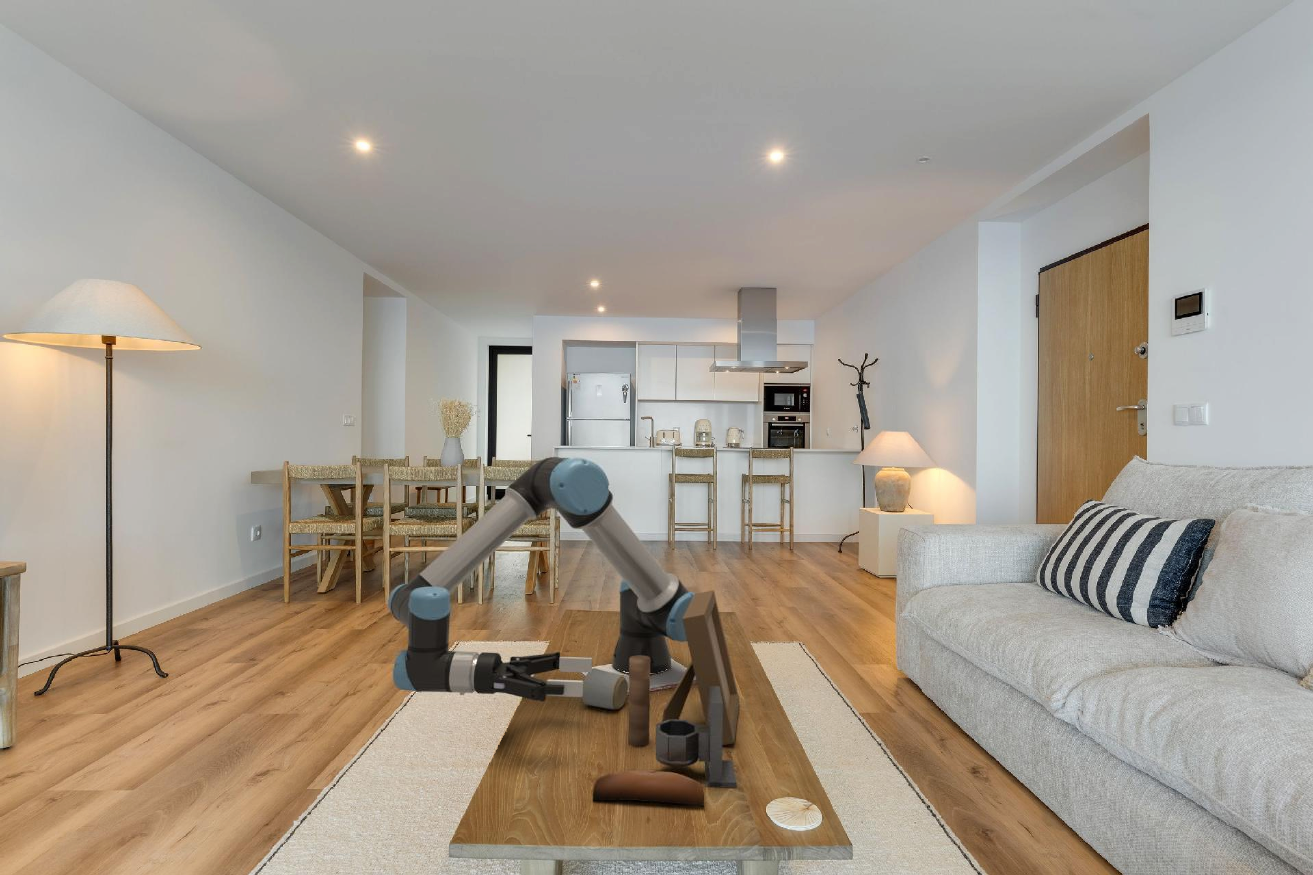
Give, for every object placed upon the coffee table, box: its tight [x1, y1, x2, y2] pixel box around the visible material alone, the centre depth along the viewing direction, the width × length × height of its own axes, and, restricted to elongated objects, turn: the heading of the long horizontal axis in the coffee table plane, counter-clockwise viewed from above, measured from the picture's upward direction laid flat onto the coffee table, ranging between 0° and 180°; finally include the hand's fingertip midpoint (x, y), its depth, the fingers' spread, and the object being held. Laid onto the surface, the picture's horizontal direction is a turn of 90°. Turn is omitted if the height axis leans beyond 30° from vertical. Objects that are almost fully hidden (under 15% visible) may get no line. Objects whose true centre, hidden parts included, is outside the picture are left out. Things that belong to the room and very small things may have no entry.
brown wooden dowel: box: [627, 655, 651, 748], centre depth 132 cm, size 4×4×16 cm
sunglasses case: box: [592, 769, 705, 808], centre depth 112 cm, size 18×7×7 cm
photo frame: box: [661, 590, 740, 746], centre depth 141 cm, size 15×22×25 cm
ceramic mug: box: [581, 667, 629, 710], centre depth 151 cm, size 11×8×8 cm
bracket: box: [655, 686, 738, 788], centre depth 119 cm, size 14×8×14 cm, turn 89°
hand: (587, 676), depth 131 cm, fingers open, 13 cm apart
